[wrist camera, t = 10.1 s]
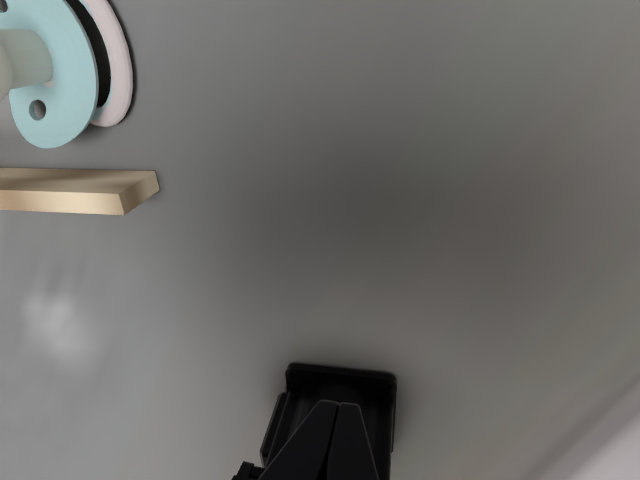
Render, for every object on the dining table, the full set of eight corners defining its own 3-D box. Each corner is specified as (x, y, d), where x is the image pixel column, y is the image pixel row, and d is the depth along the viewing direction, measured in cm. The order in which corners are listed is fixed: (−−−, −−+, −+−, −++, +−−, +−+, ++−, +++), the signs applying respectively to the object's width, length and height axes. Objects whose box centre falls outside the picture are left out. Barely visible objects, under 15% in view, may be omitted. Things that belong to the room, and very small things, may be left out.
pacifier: (110, -54, 17) (-18, -37, 18) (-28, -86, 11) (-201, -59, 12) (157, 131, 20) (47, 136, 21) (69, 176, 15) (-73, 179, 16)
